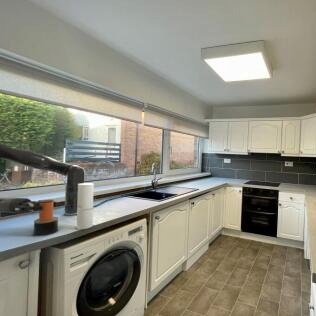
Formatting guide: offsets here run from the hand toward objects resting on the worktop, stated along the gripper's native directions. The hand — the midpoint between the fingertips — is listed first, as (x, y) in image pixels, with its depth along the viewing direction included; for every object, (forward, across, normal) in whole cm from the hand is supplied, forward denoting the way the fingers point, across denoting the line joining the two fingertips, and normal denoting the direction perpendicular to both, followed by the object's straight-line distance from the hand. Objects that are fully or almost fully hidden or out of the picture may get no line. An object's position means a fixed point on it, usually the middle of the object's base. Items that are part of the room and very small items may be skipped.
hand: (49, 205), depth 103 cm
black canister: (-1, 0, +14) cm, 14 cm away
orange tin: (-1, 0, +7) cm, 7 cm away
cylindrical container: (+13, +8, +14) cm, 21 cm away
